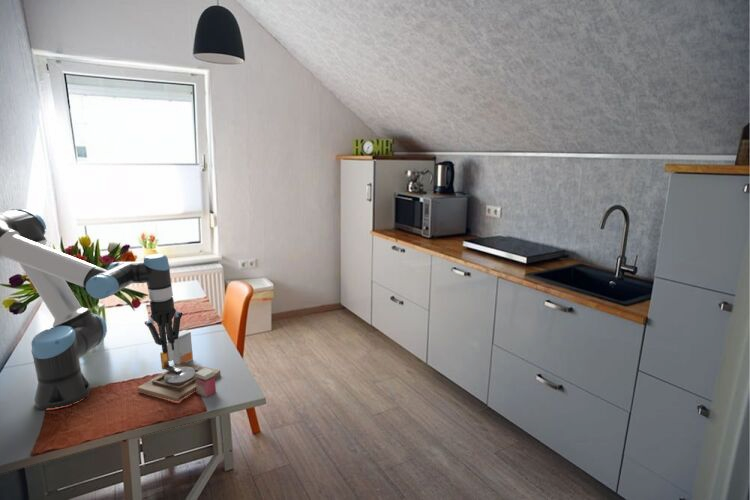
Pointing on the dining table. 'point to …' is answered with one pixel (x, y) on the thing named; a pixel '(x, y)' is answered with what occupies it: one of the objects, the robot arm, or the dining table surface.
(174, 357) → the skincare box
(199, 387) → the small box
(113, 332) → the dining table surface
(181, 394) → the beige square board
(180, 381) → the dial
